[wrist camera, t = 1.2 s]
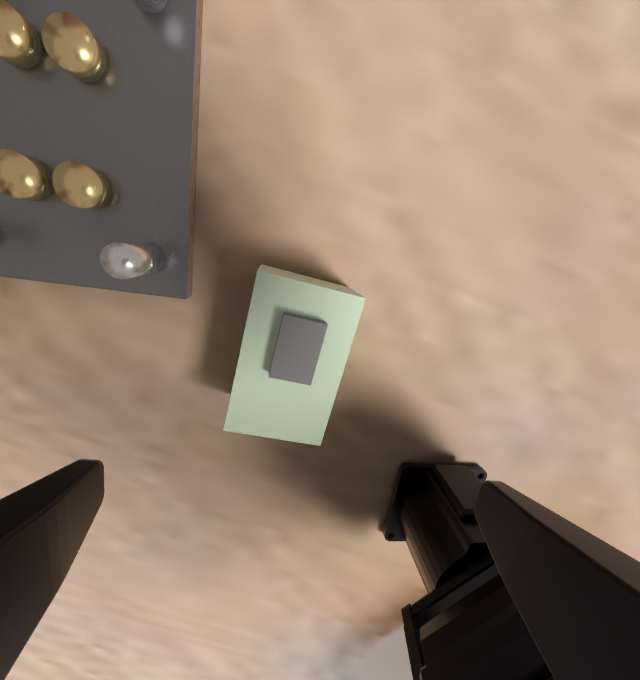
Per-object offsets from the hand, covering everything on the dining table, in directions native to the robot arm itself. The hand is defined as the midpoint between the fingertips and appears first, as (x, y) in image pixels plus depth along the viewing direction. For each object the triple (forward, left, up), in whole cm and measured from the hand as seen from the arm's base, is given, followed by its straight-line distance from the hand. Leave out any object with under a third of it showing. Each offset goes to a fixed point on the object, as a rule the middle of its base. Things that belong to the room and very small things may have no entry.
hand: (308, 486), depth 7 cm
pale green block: (0, 0, -12) cm, 12 cm away
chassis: (+9, +11, -12) cm, 18 cm away
